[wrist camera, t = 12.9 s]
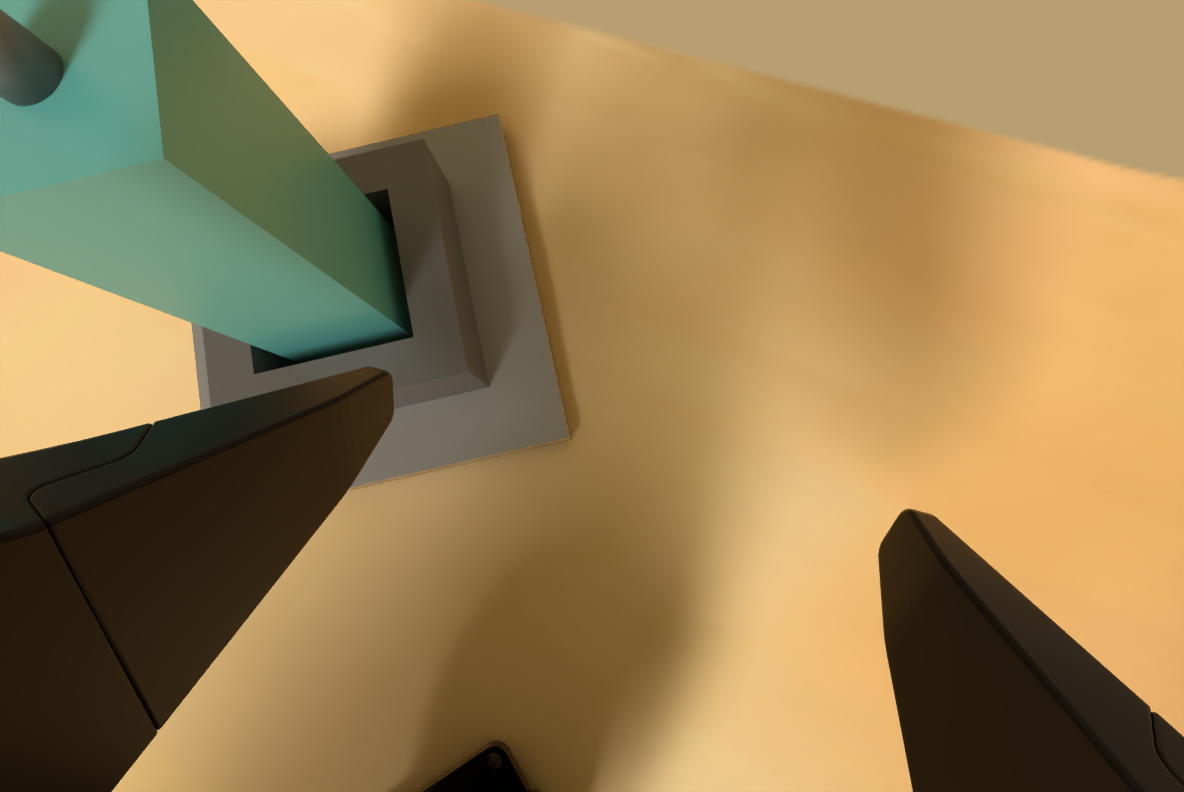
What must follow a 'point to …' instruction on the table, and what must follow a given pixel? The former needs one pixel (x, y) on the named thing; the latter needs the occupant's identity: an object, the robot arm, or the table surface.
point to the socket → (435, 312)
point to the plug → (184, 181)
